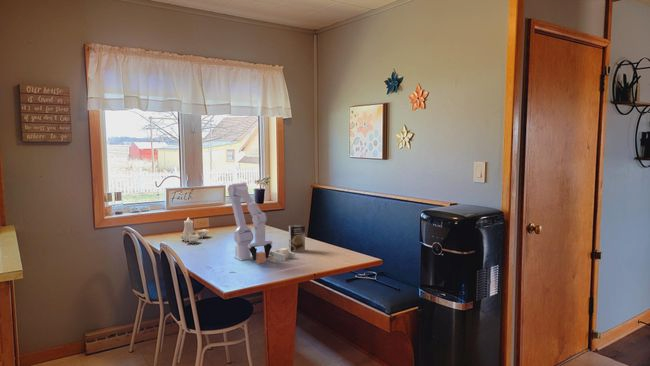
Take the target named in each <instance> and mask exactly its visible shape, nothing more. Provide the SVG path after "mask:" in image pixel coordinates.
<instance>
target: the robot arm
mask: <svg viewBox="0 0 650 366" xmlns="http://www.w3.org/2000/svg"><path fill="white" fill-rule="evenodd" d="M227 192H228V197H229V199H230V202H231V206H232V207H231V208H232V210H233V215H234V219H235V223H236V229H235V230H234V232H233V234H234V236H233V237H234V238H233V239H234V242H235V243H236V244H235V249H234V250H235V252H234V253H235V254H234V259H237V260H239V261H245V260H248V259H252V260H253V261H255V262H256V252H257V251H258V249H257V248H259V247H263V248H264V249H263V250H264V252H265V257H266V258H268V256H269V252H270V251H272V250H271V249H272V248H273V247H272V246H273V240H266V223H267V221H268V216H267V213H265V212H263V211H262V210H261V208H260V207H259V205H258V204H257V202H255V201H254V200H253V198H252V197H251V195H250V193H249V186H248V185H247V183H246V182H239V183H237V182H236V183H231V182H230V183H229V184H228V187H227ZM242 199H243V201H244V202H245V204H246V206H247V208H246V209H247V210H248V213H249V214H250V216H251V217H252V218H251V220H252V224H253V227H254V233H253V232H252V229H251V228H250V227H249V226H248V225H247V222H246V218H245V214H244V210H243V206H242V202H241V200H242ZM253 240H254V242H253ZM256 247H257V248H256Z"/></svg>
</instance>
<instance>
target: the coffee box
mask: <svg viewBox="0 0 650 366" xmlns="http://www.w3.org/2000/svg"><path fill="white" fill-rule="evenodd" d="M305 227H306V226H305V225H304V224H291V225H288V249H289V251H290V252H293V253H297V252H305V251H306V228H305Z"/></svg>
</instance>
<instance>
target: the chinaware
mask: <svg viewBox="0 0 650 366" xmlns="http://www.w3.org/2000/svg"><path fill="white" fill-rule="evenodd" d="M183 224H184V226H183V227H184V228H183V232H182V233H181V235H180V238H181V240H182V241H183V240H184V241H183V242H185V241H186V243H187V244H188V243H189V244H190V243H195V244H196V243H197V242H198V240H199V237H200V238H201V237H205V238H207V236H208V234H209V232H210V230H209V229H198V230H196V231H195V229H194V220H192V219H190V217H187V219H185V220H184V221H183ZM187 241H189V242H187Z"/></svg>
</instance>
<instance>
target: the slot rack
mask: <svg viewBox="0 0 650 366" xmlns="http://www.w3.org/2000/svg"><path fill="white" fill-rule="evenodd" d="M279 249H280V248H278V249H274V250H270V252H269V256H268V258H266V261H268V262H270V263H272V264H278V263H284V262H289V261H294V260H297V258H296V252H290V251H289V258H286V256H285V255H283V254H281V253H279ZM263 252H264V253H265V251H263Z"/></svg>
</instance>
